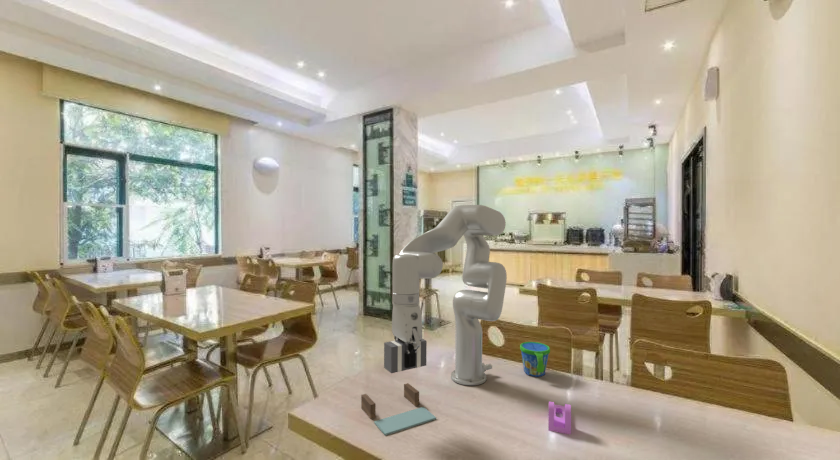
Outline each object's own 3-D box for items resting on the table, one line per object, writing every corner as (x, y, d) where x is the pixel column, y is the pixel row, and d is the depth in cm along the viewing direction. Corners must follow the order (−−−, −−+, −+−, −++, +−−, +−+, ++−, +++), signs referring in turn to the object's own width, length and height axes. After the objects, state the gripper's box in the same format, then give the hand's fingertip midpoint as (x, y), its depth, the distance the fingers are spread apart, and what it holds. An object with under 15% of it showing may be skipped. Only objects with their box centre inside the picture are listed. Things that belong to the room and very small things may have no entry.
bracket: (570, 434, 97) (571, 408, 97) (548, 430, 99) (548, 405, 99) (569, 411, 109) (569, 388, 109) (549, 407, 111) (549, 385, 111)
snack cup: (553, 383, 127) (554, 354, 127) (522, 381, 129) (522, 352, 129) (545, 366, 143) (545, 340, 143) (517, 364, 144) (517, 338, 144)
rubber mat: (423, 408, 110) (423, 406, 110) (436, 419, 104) (436, 417, 104) (374, 423, 102) (374, 421, 102) (385, 435, 96) (385, 433, 96)
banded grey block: (418, 360, 107) (418, 336, 107) (426, 365, 103) (426, 340, 103) (384, 367, 102) (384, 342, 102) (391, 373, 98) (391, 347, 98)
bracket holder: (408, 395, 118) (408, 383, 118) (419, 404, 112) (419, 391, 112) (361, 408, 110) (361, 394, 110) (370, 418, 104) (370, 404, 104)
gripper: (433, 303, 97) (433, 371, 97) (403, 292, 111) (403, 352, 112) (408, 306, 93) (408, 377, 93) (380, 294, 108) (380, 356, 108)
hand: (405, 363), depth 102 cm, fingers closed on banded grey block, 4 cm apart
